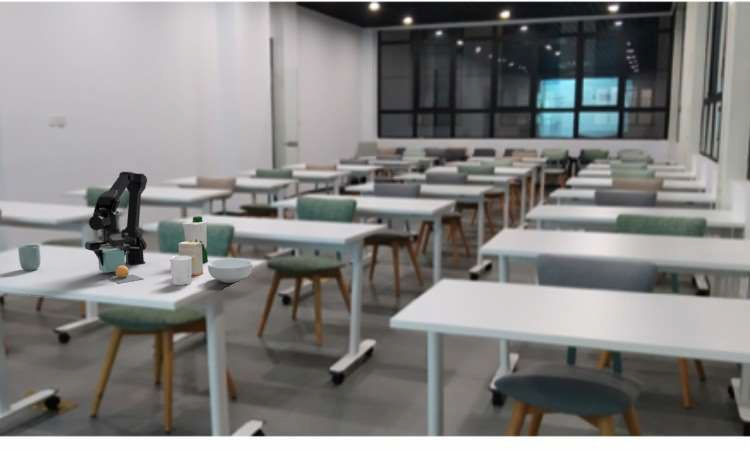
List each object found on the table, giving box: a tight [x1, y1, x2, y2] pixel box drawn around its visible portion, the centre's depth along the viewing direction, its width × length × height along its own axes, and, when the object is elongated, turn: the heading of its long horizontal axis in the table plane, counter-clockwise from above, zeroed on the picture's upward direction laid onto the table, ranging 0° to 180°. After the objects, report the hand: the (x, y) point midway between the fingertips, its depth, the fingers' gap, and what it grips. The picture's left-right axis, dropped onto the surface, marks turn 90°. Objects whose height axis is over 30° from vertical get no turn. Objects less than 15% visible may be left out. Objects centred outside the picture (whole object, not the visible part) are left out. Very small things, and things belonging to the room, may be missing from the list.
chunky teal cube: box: [98, 247, 126, 273], centre depth 267 cm, size 8×8×8 cm
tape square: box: [107, 273, 144, 284], centre depth 258 cm, size 10×10×1 cm
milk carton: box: [181, 215, 209, 264], centre depth 286 cm, size 9×9×20 cm
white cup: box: [169, 255, 192, 286], centre depth 251 cm, size 8×8×10 cm
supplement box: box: [178, 240, 204, 277], centre depth 266 cm, size 8×5×13 cm, turn 71°
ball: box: [114, 265, 130, 278], centre depth 260 cm, size 5×5×5 cm
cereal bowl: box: [207, 258, 253, 284], centre depth 256 cm, size 17×17×7 cm
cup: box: [17, 244, 42, 272], centre depth 273 cm, size 8×8×10 cm
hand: (112, 263), depth 267 cm, fingers closed on chunky teal cube, 8 cm apart
